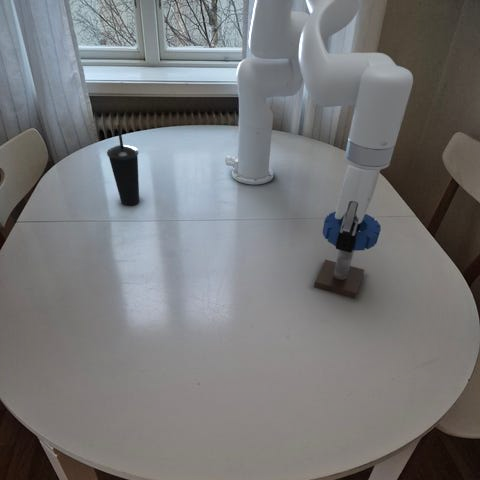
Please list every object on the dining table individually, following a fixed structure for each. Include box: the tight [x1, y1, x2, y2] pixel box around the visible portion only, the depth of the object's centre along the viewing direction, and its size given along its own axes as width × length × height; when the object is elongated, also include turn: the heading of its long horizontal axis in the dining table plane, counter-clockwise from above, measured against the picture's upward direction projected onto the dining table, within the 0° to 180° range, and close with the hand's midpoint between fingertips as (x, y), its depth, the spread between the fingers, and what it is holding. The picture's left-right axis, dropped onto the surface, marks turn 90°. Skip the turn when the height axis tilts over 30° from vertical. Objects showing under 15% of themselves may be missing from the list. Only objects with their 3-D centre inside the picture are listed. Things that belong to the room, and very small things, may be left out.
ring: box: [322, 210, 382, 252], centre depth 85 cm, size 11×11×3 cm
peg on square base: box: [313, 250, 365, 299], centre depth 91 cm, size 9×9×12 cm
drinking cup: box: [106, 124, 140, 207], centre depth 110 cm, size 8×8×20 cm
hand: (345, 244), depth 84 cm, fingers closed on ring, 3 cm apart
